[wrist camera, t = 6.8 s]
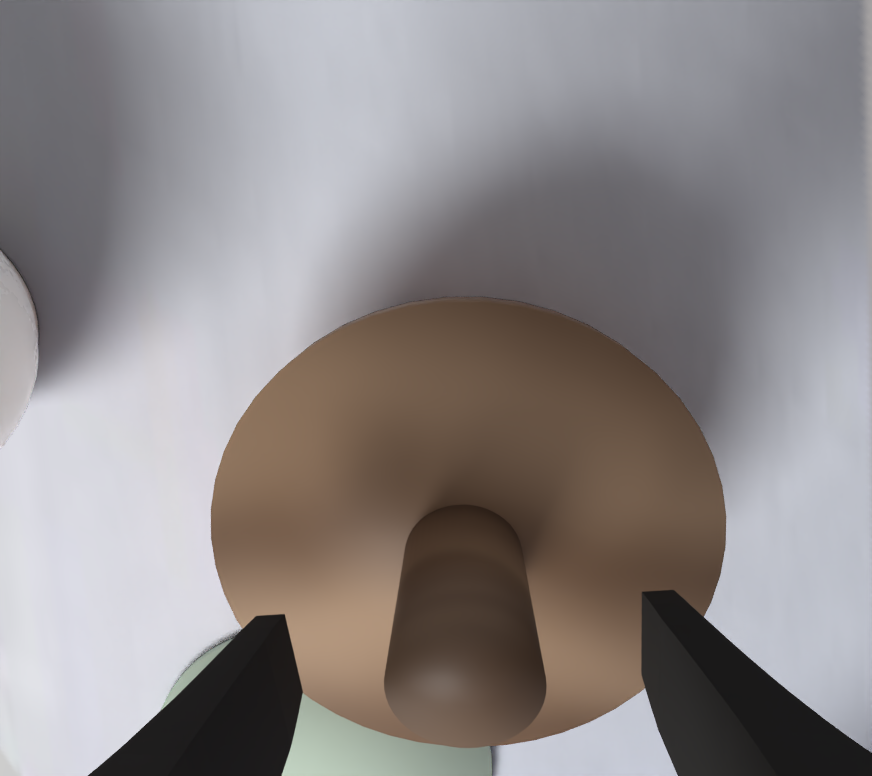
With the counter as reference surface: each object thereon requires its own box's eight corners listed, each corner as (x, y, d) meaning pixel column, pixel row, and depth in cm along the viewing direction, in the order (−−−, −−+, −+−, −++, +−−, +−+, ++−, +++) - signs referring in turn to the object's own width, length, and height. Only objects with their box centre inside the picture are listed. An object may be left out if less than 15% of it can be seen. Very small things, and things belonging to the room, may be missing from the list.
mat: (503, 867, 24) (504, 878, 24) (204, 876, 25) (200, 886, 25) (476, 612, 20) (476, 620, 20) (119, 635, 21) (112, 642, 21)
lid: (693, 717, 16) (786, 916, 12) (267, 726, 17) (197, 916, 12) (734, 276, 12) (900, 315, 8) (176, 315, 13) (22, 371, 8)
